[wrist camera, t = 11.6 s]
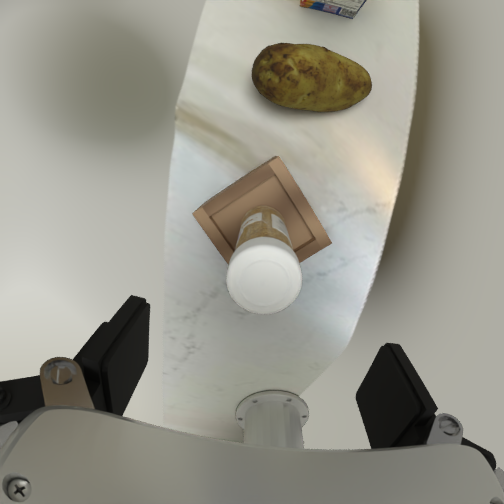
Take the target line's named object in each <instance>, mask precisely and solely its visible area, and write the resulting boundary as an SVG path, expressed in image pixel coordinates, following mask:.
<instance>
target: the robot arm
mask: <svg viewBox="0 0 504 504" xmlns="http://www.w3.org/2000/svg"><path fill="white" fill-rule="evenodd" d="M149 318H150V304H149V303H146V299H145V298H140V297H137V296H133V295H131V296H130V297H129V298H128V299H127V301H126V302H125V303H124V304H123V305H122V307H121V308H120V309H119V310H118V311H117V313H116V314H115V315H114V316H113V317H112V319H111V320H110V321H109V322H104V323H102V324H101V325H100V326H99V328H98V329H97V330H96V331H95V333H94V334H93V335H92V336H91V337H90V339H89V340H88V341H87V342H86V344H85V345H84V346H83V347H82V349H81V350H80V351H79V352H78V354H77V355H76V356H75V357H74V359H73V360H72V359H70V358H66V357H55V358H51V359H49V360H47V361H46V362H45V363H44V364H43V365H42V366H41V368H40V375H38V376H33V377H27V378H21V379H14V380H8V381H2V382H0V504H504V471H503V470H502V469H500V468H497V469H495V468H496V461H495V458H494V456H493V454H492V453H491V452H489V451H487V450H486V449H483V448H482V447H480V446H478V445H476V444H474V443H472V442H471V441H469V440H467V439H465V438H463V437H462V435H463V427H462V424H461V423H460V421H459V420H458V419H457V418H456V417H454V416H452V415H450V414H446V413H442V414H439V415H437V416H435V414H434V413H435V412H436V411H437V409H438V408H437V406H436V404H435V402H434V401H433V399H432V397H431V396H430V394H429V392H428V390H427V389H426V387H425V385H424V383H423V382H422V380H421V378H420V377H419V375H418V373H417V372H416V370H415V368H414V367H413V365H412V364H411V362H410V360H409V359H408V357H407V355H406V354H405V352H404V351H403V349H402V347H401V346H400V345H399V344H393V343H386V344H385V345H384V346H381V348H380V349H379V351H378V353H377V355H376V357H375V359H374V361H373V363H372V365H371V367H370V369H369V371H368V373H367V374H366V376H365V378H364V380H363V382H362V384H361V385H360V387H359V389H358V391H357V393H356V401H357V404H358V407H359V411H360V413H361V417H362V420H363V423H364V426H365V429H366V432H367V436H368V439H369V442H370V446H371V449H357V450H324V449H323V450H322V449H304V445H303V444H304V441H303V436H302V427H303V426H304V425H305V423H306V422H307V420H308V417H309V411H308V406H307V404H306V403H305V402H304V400H303V399H301V398H300V397H299V396H296V395H294V394H292V393H288V392H283V391H265V392H260V393H256V394H254V395H251V396H249V397H247V398H245V399H244V400H243V401H242V402H241V403H240V404H239V405H238V407H237V410H236V421H237V423H238V425H239V426H240V427H241V428H242V429H243V430H244V436H243V443H240V442H233V441H226V440H220V439H215V438H209V437H204V436H199V435H194V434H190V433H185V432H181V431H177V430H172V429H168V428H164V427H160V426H156V425H152V424H148V423H145V422H141V421H138V420H134V419H131V418H127V417H123V416H122V415H123V413H124V411H125V409H126V407H127V405H128V403H129V401H130V398H131V396H132V394H133V392H134V390H135V388H136V386H137V384H138V382H139V380H140V378H141V376H142V373H143V371H144V369H145V367H146V365H147V362H148V349H149Z"/></svg>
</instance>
